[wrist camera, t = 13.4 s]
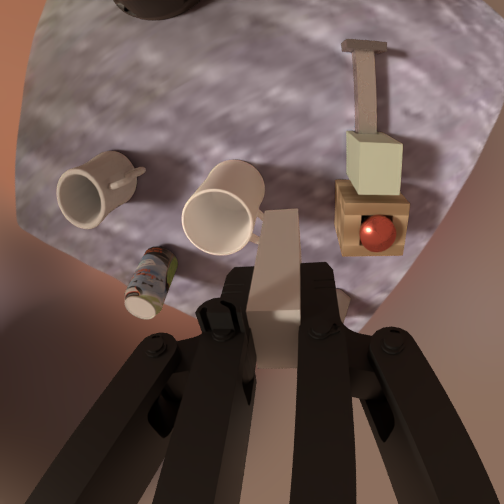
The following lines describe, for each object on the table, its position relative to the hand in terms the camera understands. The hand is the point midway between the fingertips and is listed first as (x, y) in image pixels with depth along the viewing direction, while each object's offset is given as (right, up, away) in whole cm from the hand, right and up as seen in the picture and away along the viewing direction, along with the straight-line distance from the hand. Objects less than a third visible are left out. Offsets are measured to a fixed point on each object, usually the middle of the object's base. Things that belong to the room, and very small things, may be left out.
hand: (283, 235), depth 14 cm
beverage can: (-16, -2, +37) cm, 41 cm away
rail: (+13, +17, +22) cm, 31 cm away
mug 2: (-3, +7, +30) cm, 31 cm away
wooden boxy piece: (+14, +6, +28) cm, 32 cm away
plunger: (+14, +5, +25) cm, 29 cm away
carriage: (+14, +13, +24) cm, 31 cm away
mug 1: (-22, +12, +30) cm, 39 cm away
